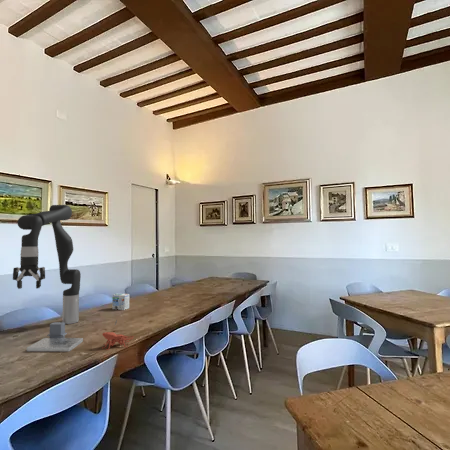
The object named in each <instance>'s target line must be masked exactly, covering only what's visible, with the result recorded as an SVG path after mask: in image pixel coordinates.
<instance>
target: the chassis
mask: <svg viewBox="0 0 450 450" xmlns="http://www.w3.org/2000/svg"><path fill="white" fill-rule="evenodd" d="M83 341H84V338H83V337H65V338H49V337H43V338H42V339H40V340H38V341H36V342H34V343H32V344H30V345H28V346H27V347H26V352H61V353H62V352H68V353H69V352H71V351H72V350H73V349H75V348H76V347H78V346H79V345H80V344H82V343H83Z"/></svg>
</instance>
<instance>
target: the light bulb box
mask: <svg viewBox="0 0 450 450" xmlns="http://www.w3.org/2000/svg"><path fill="white" fill-rule="evenodd" d="M111 307H112V308H111V309H112V310H117V309H118V311H125V309H126V310H127V309H130V293H118V292H117V293H114V294H112V305H111Z"/></svg>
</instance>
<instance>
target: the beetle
mask: <svg viewBox="0 0 450 450" xmlns="http://www.w3.org/2000/svg"><path fill="white" fill-rule="evenodd" d="M117 321H118V320H117V319H116V321H115V322H114V325H117ZM102 336H103V337H104V339H106V340H107V341H106V342H105V343H103V345H105V346H104V347H101V348H102V349H104V348H105V350H106V351H108V350H110V348H111V346H112V347H113V346H114V345H115V344H116V343H118V344H119V345H121V346H122V345H123V346H124V348H129V347H128V346H126V343H129V342H130V341H129V340H133V339H134V338H135V336H134V335H131V336H127V335H124V334H116V332H111V331H107V332H103V333H102ZM107 346H108V349H107Z"/></svg>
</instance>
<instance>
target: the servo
mask: <svg viewBox="0 0 450 450" xmlns="http://www.w3.org/2000/svg"><path fill="white" fill-rule="evenodd" d="M67 334H68V332H66V324H65V322H62V321H61V322H60V321H59V322H57V321H55V322H52V323H50V324H49V333H48V334H47V337H48V338H66V335H67Z"/></svg>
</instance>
